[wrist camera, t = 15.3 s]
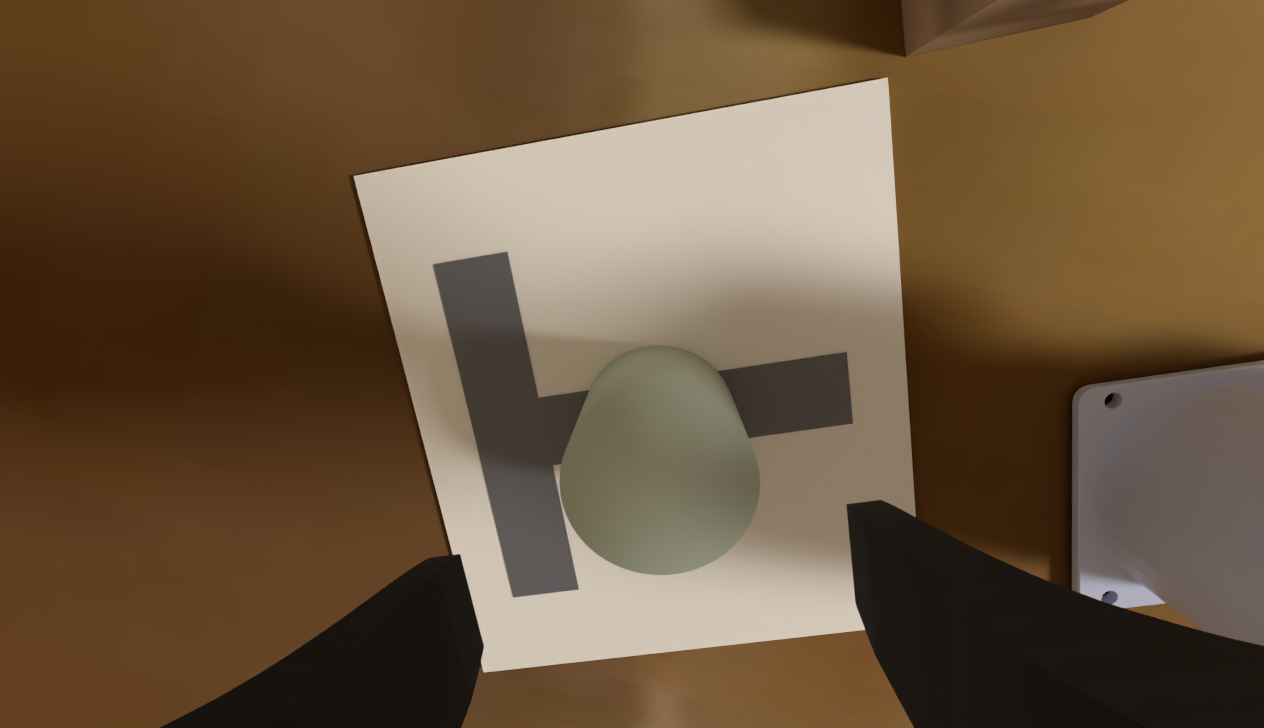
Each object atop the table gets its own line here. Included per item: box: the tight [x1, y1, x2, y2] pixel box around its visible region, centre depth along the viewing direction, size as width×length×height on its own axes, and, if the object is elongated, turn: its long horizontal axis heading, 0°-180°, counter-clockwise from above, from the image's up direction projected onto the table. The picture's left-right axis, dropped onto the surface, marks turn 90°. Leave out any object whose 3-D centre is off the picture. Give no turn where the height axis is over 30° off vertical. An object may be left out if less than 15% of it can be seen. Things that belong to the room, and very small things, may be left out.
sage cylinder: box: [559, 346, 760, 575], centre depth 18 cm, size 5×5×5 cm
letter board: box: [354, 78, 916, 672], centre depth 20 cm, size 16×18×1 cm
